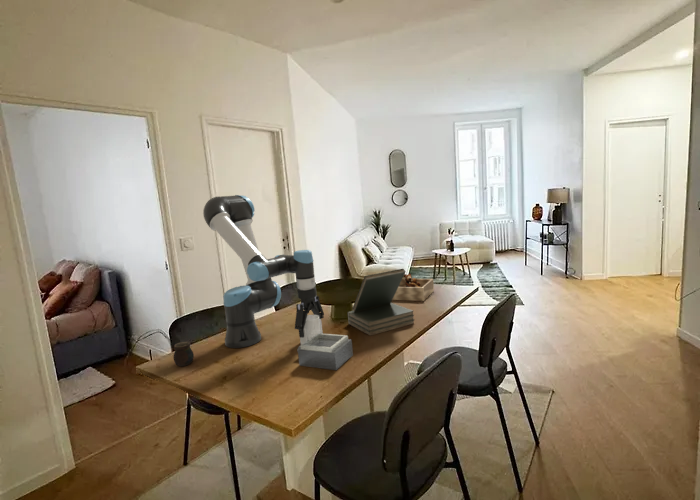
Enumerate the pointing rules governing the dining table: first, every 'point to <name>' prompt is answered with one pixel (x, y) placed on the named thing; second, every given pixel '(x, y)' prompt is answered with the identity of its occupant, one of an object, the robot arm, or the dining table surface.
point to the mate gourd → (183, 354)
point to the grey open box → (325, 351)
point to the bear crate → (414, 290)
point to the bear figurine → (411, 281)
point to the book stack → (379, 304)
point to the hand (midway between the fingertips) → (312, 338)
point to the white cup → (312, 326)
